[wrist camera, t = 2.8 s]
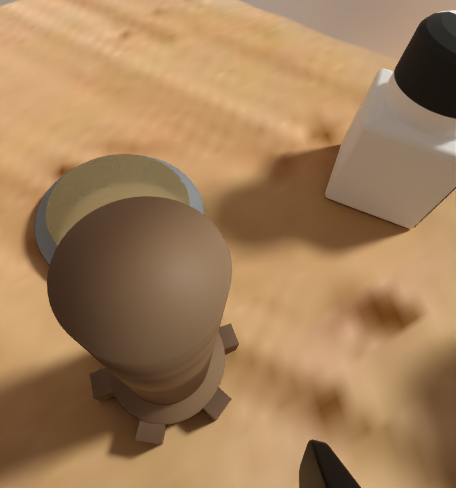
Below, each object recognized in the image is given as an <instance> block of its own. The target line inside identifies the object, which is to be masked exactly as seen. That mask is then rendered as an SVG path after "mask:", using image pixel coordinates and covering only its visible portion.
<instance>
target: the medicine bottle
mask: <svg viewBox="0 0 456 488" xmlns="http://www.w3.org/2000/svg"><path fill="white" fill-rule="evenodd" d="M455 189H456V10H452V11H442V12H438V13H434V14H432V15H431V16H429V17H427V18H426V19H424V20H423V21H422V22H421V23H420V24H419V26H418V28H417V30H416V31H415V33H414V35H413V37H412V39H411V41H410V42H409V44H408V46H407V48H406V49H405V52H404V53H403V55H402V57H401V59H400V60H399V62H398V64H397V66H396V68H395V69H394V71H391V70H388V69H384V68H383V69H380V70H379V71H378V72H377V74H376V76H375V78H374V80H373V82H372V84H371V86H370V88H369V90H368V92H367V94H366V96H365V98H364V100H363V101H362V103H361V105H360V107H359V109H358V111H357V113H356V115H355V117H354V119H353V121H352V123H351V125H350V127H349V129H348V131H347V133H346V135H345V137H344V139H343V141H342V143H341V146H340V149H339V152H338V155H337V158H336V161H335V164H334V167H333V170H332V173H331V176H330V179H329V183H328V186H327V189H326V192H325V196H326V198H328V199H331V200H333V201H336V202H339V203H341V204H344V205H347V206H349V207H352V208H355V209H357V210H360V211H363V212H365V213H368V214H371V215H373V216H376V217H379V218H381V219H384V220H387V221H389V222H392V223H395V224H397V225H400V226H403V227H405V228H408V229H412V228H415V227H416V226H417V225H418V224H419V223H420V222H421V221H422V220H423V219H424V218H425V217H426V216H427V215H428V214H429V213H430V212H431V211H432V210H433V209H435V208H436V207H437V206H438V205H439V204H440V203H441V202H442V201H443V200H444V199H445V198H446V197H447V196H448V195H449V194H450V193H451V192H452V191H454V190H455Z"/></svg>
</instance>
